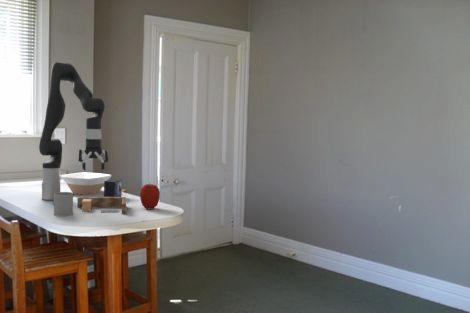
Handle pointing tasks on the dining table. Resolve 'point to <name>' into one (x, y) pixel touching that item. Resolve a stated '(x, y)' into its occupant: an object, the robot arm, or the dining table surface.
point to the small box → (112, 188)
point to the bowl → (85, 182)
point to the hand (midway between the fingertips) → (93, 170)
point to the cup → (63, 203)
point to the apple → (149, 196)
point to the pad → (109, 210)
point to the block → (86, 204)
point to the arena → (105, 202)
